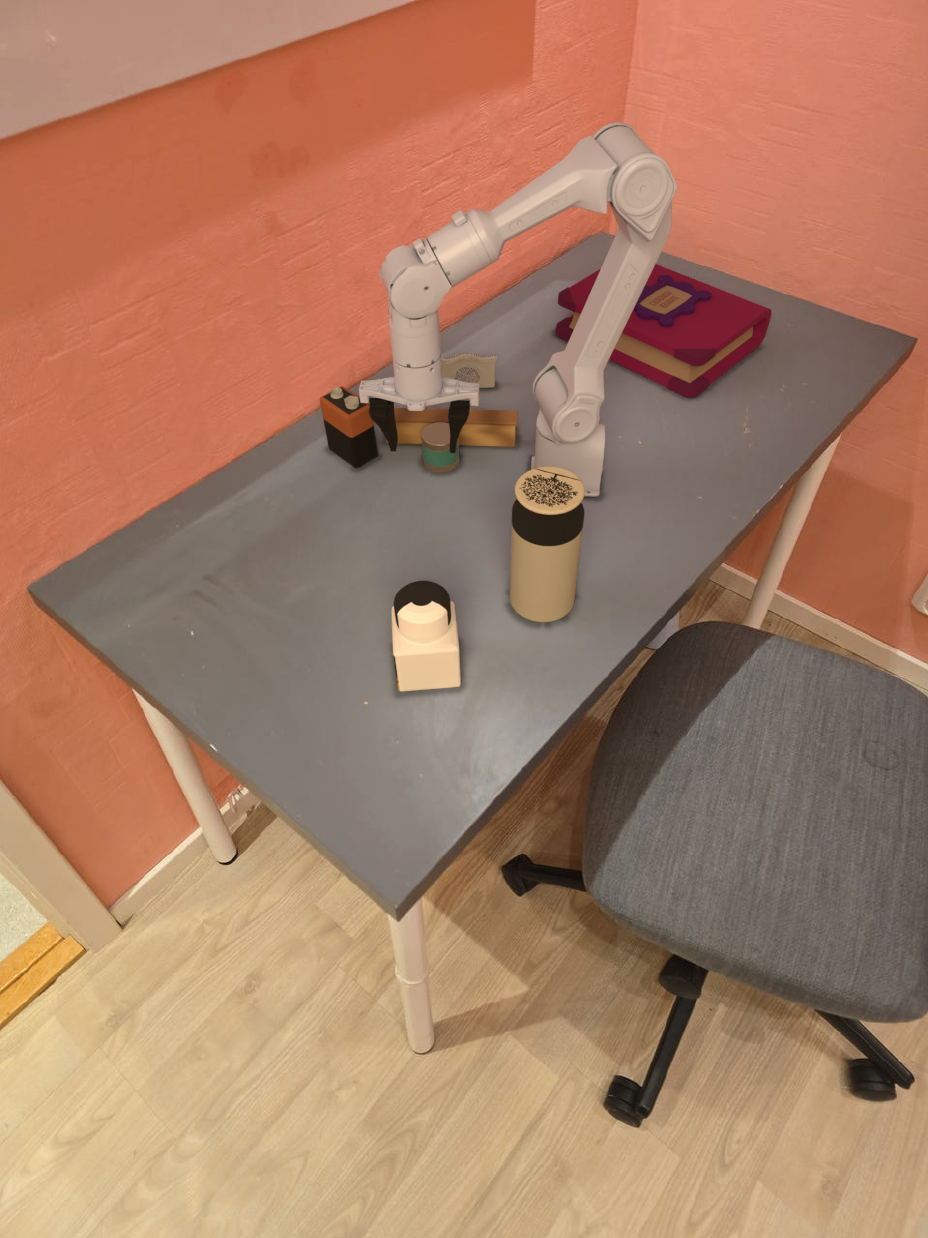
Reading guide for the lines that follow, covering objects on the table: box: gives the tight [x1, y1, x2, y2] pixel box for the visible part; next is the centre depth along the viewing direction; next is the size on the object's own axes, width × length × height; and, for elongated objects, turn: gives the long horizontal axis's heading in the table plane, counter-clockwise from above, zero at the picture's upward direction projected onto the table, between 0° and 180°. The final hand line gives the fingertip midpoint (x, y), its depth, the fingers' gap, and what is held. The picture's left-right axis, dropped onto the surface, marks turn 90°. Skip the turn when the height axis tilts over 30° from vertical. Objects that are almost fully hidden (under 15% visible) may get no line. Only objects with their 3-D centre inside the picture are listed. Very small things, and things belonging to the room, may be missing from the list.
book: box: [555, 263, 773, 399], centre depth 137 cm, size 21×28×8 cm
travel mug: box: [509, 467, 585, 623], centre depth 97 cm, size 8×8×18 cm
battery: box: [319, 385, 379, 469], centre depth 119 cm, size 4×7×10 cm, turn 43°
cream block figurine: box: [390, 580, 462, 692], centre depth 93 cm, size 7×7×12 cm
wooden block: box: [385, 406, 519, 448], centre depth 123 cm, size 19×4×4 cm, turn 85°
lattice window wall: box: [441, 352, 498, 389], centre depth 131 cm, size 12×2×6 cm, turn 92°
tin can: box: [421, 422, 460, 474], centre depth 119 cm, size 5×5×5 cm
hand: (423, 447), depth 109 cm, fingers open, 7 cm apart
